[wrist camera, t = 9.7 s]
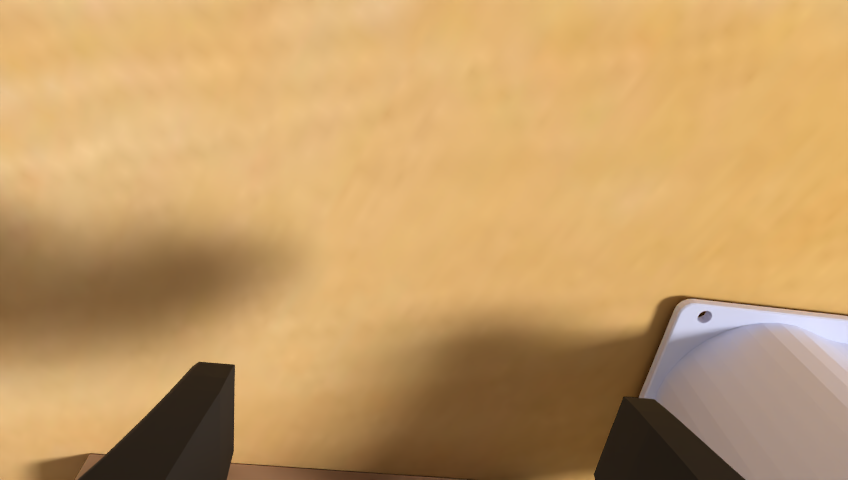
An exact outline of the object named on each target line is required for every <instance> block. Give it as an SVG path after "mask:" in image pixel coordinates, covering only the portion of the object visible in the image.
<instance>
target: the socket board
mask: <svg viewBox="0 0 848 480" xmlns="http://www.w3.org/2000/svg"><path fill="white" fill-rule="evenodd" d="M104 456H105V455H98V454H89V456H88V458H87V459H86V461H85V463H84V464H83V466H82V468H81V469H80V471H79V473H78V474H77V476H76V478H75V480H78V479H79V478H80V477H81V476H82V475H83V474H84V473H85V472H87V471H88V470H89V469H90V468H91V467H92V466H93V465H95V464H96V463H97V462H98V461H99V460H100V459H101V458H102V457H104ZM227 480H465V479H450V478H435V477H421V476H406V475H391V474H377V473H362V472H347V471H333V470H318V469H303V468H289V467H274V466H259V465H245V464H230V468H229V472H228V476H227Z"/></svg>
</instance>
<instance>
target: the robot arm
mask: <svg viewBox="0 0 848 480" xmlns="http://www.w3.org/2000/svg"><path fill="white" fill-rule="evenodd" d="M703 311H706V313H705V314H704V315H703V316H701V317H698V316H699V314H700V313H702V312H703ZM234 381H235V365H231V364H219V363H206V362H198V363H197V364H195V365H194V366H193V367H192V368H191V369H190V370H189V371H188V372H187V373H186V374H185V375H184V376H183V378H182V379H181V380H180V381H179V382H178V383H177V384H176V385H175V386H174V387H173V388H172V389H171V390H170V392H169V393H168V394H167V395H166V396H165V397H164V398H163V399H162V400H161V401H160V402H159V403H158V404H157V405H156V406H155V407H154V408H153V409H152V410H151V411H150V412H149V413H148V414H147V415H146V416H145V417H144V418H143V419H142V420H141V421H140V422H139V423H138V424H137V425H136V426H135V427H134V428H133V429H132V430H131V431H130V432H129V433H128V434H127V435H126V436H125V437H124V438H123V439H122V440H121V441H120V442H119V443H117V444H116V445H115V446H114V447H113V448H112V449H111V450H110V451H109V452H108V453H107V454H106V455H105V456H104V457H102V458H101V459H100V460H99V461H98V462H97V463H96V464H95V465H93V466H92V467H91V468H90V469H89V470H88V471H87V472H85V473H84V474H83V475H82V476H81V477H80V478H79V479H78V480H227V476H228V472H229V468H230V464H231V460H232V455H233V451H234ZM594 477H595V480H848V316H843V315H834V314H825V313H816V312H807V311H798V310H789V309H780V308H771V307H762V306H753V305H744V304H735V303H726V302H718V301H709V300H700V299H686V300H683V301H681V302H680V303H679V304H677V306H676V307H675V309H674V311H673V314H672V316H671V319H670V321H669V324H668V326H667V329H666V331H665V334H664V336H663V339H662V341H661V343H660V346H659V348H658V351H657V353H656V356H655V358H654V361H653V363H652V366H651V368H650V371H649V373H648V375H647V378H646V380H645V383H644V385H643V388H642V390H641V393H640V395H639V398H635V397H623V400H622V403H621V405H620V408H619V410H618V413H617V416H616V418H615V421H614V423H613V426H612V429H611V431H610V434H609V436H608V439H607V442H606V444H605V447H604V449H603V452H602V455H601V457H600V460H599V462H598V465H597V468H596V470H595V473H594Z"/></svg>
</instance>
